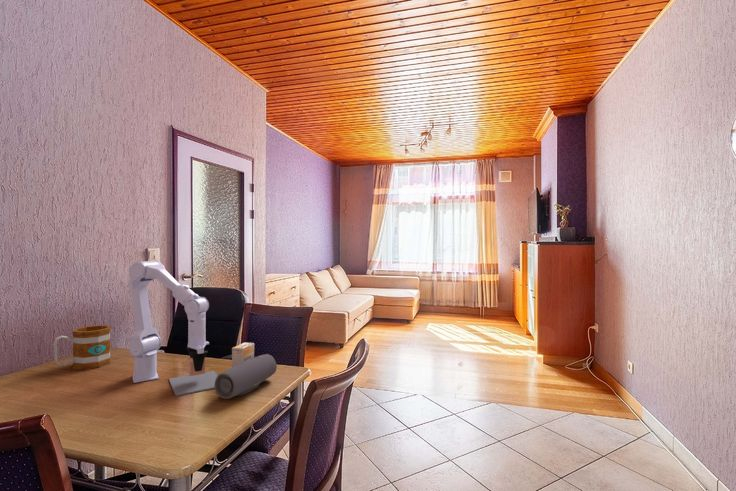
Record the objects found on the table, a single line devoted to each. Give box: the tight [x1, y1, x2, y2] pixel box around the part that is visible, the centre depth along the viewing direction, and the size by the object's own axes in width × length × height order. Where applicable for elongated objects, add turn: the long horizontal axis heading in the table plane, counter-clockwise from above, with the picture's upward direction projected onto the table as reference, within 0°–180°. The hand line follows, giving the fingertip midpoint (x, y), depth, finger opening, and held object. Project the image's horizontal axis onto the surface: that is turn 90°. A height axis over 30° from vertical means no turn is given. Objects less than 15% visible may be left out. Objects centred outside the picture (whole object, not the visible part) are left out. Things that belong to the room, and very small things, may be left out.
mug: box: [52, 324, 112, 371], centre depth 154 cm, size 20×14×15 cm
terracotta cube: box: [187, 357, 206, 376], centre depth 136 cm, size 5×5×5 cm
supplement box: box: [231, 342, 255, 368], centre depth 140 cm, size 8×5×13 cm, turn 168°
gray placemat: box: [168, 370, 219, 397], centre depth 136 cm, size 18×16×1 cm
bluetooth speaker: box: [214, 353, 278, 400], centre depth 131 cm, size 23×9×10 cm, turn 159°
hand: (196, 368), depth 136 cm, fingers closed on terracotta cube, 5 cm apart
